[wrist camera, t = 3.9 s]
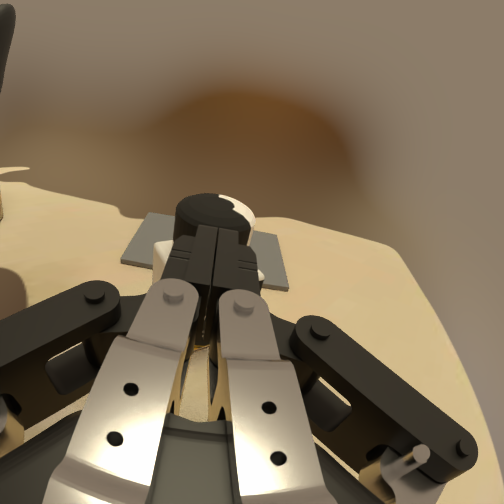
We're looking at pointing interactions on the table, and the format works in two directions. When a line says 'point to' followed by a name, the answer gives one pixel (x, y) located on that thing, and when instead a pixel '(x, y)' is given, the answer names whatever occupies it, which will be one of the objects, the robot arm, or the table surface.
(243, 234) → the medicine bottle
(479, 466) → the table surface
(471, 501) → the table surface
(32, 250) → the table surface
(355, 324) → the table surface
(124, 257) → the placemat
